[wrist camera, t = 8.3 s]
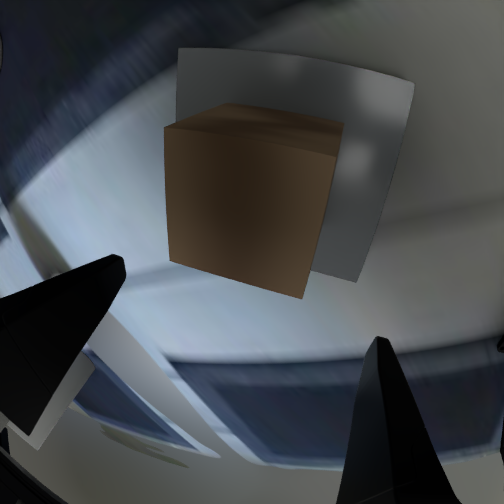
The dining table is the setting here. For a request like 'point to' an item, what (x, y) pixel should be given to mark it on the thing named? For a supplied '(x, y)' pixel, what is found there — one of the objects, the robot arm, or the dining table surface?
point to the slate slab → (323, 106)
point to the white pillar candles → (59, 401)
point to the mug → (0, 53)
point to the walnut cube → (249, 193)
